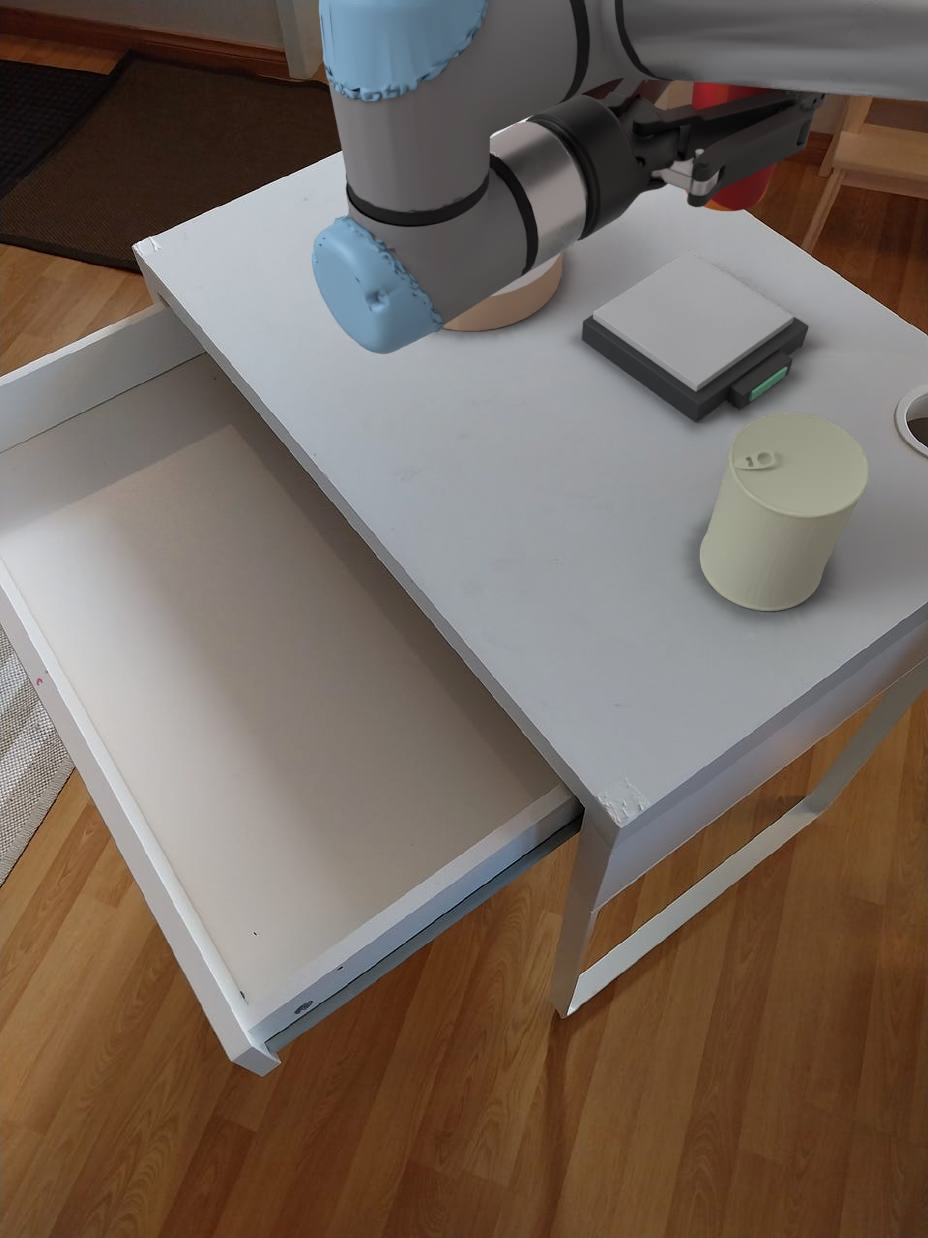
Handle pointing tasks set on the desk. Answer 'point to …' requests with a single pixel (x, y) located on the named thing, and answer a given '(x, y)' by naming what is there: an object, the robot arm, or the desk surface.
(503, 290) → the bowl
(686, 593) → the desk surface
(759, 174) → the coffee cup
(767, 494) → the can
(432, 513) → the desk surface
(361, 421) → the desk surface
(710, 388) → the scale
